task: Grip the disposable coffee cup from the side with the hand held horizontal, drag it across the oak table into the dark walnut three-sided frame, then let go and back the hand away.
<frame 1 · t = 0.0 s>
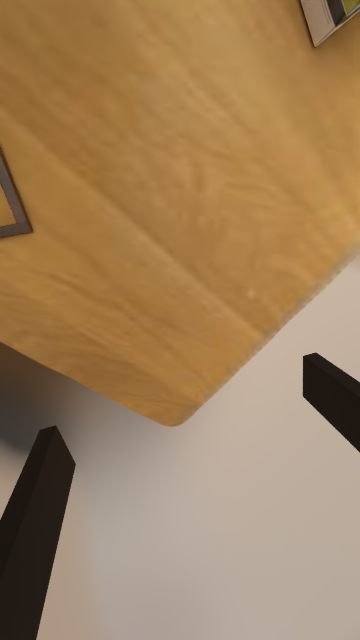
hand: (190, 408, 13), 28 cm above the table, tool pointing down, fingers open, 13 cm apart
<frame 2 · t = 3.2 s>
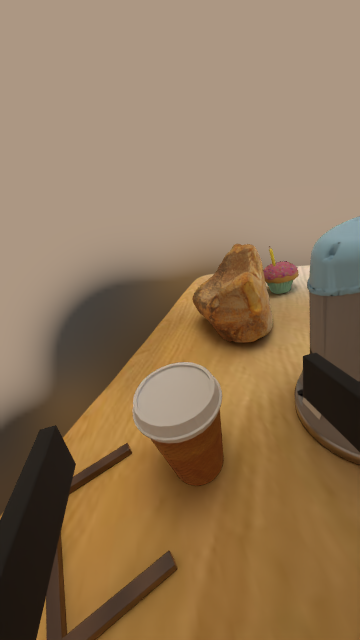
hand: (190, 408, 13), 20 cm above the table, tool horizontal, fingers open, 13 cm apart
rough brown rock: (233, 320, 57), on the table
cupcake: (280, 290, 64), on the table
disposable coffee cup: (198, 459, 31), on the table
walnut frame: (107, 524, 27), on the table
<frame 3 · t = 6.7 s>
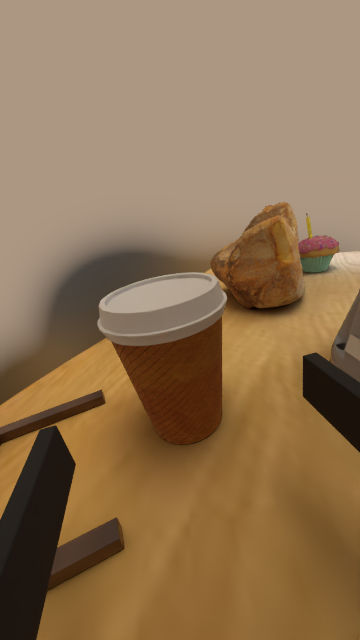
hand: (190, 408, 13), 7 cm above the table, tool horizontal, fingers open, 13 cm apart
rough brown rock: (256, 293, 49), on the table
cupcake: (315, 270, 55), on the table
disposable coffee cup: (187, 416, 23), on the table
walnut frame: (48, 475, 19), on the table
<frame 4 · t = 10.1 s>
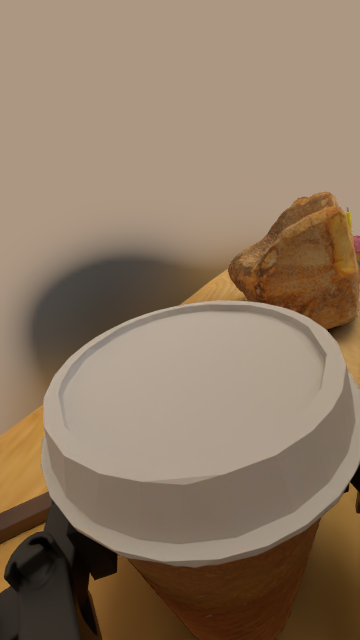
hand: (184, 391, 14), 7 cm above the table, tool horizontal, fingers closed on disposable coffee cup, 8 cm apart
rough brown rock: (285, 307, 39), on the table
cupcake: (353, 277, 45), on the table
disposable coffee cup: (227, 555, 13), on the table, touching gripper
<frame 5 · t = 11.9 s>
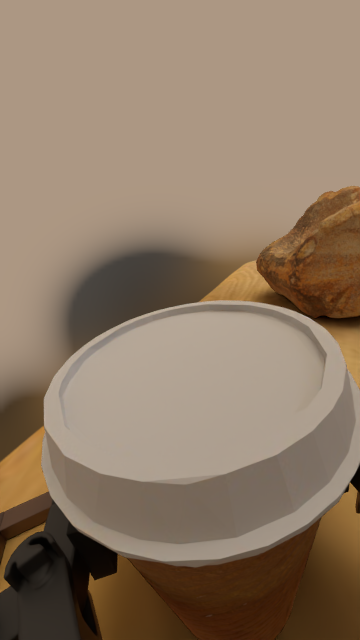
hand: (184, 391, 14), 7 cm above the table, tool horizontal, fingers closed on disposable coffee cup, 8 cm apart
rough brown rock: (312, 297, 40), on the table
disposable coffee cup: (228, 555, 13), on the table, touching gripper
walnut frame: (93, 636, 11), on the table
when the fingers open (7 cm above the table, at t = 13.8 s): disposable coffee cup stays where it is, on the table.
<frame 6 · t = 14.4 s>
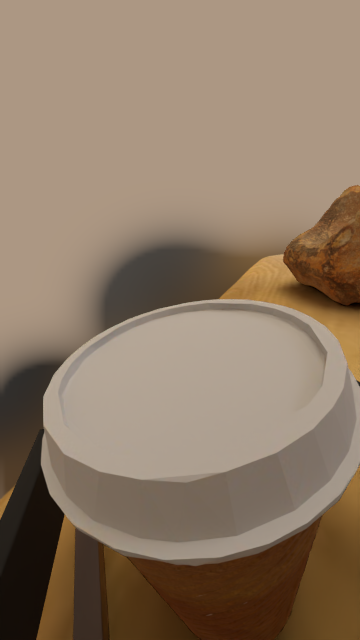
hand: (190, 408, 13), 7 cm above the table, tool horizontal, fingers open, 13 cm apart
rough brown rock: (338, 288, 42), on the table
disposable coffee cup: (228, 554, 13), on the table
walnut frame: (209, 563, 12), on the table
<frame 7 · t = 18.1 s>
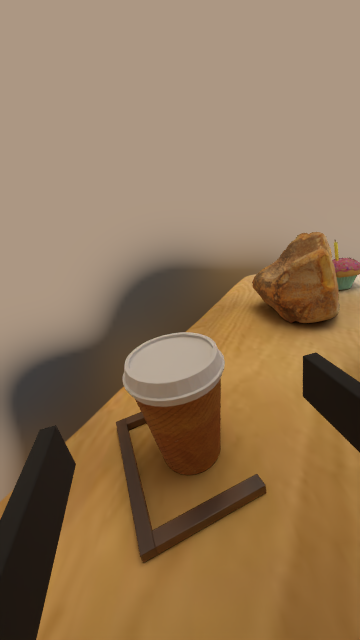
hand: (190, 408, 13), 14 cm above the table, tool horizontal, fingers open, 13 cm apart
rough brown rock: (292, 308, 56), on the table
cupcake: (339, 287, 63), on the table
disposable coffee cup: (191, 448, 27), on the table
walnut frame: (183, 451, 27), on the table
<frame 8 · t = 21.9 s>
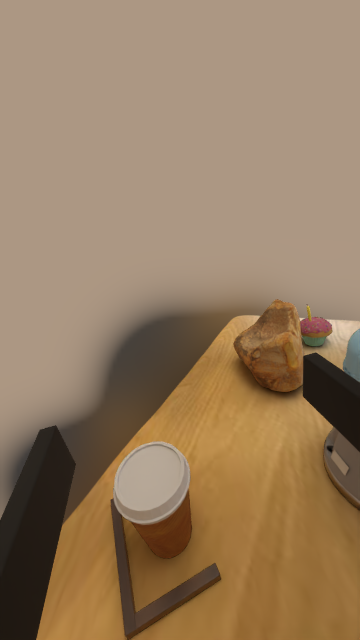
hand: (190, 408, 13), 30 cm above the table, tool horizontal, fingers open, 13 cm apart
rough brown rock: (268, 366, 64), on the table
cupcake: (313, 342, 70), on the table
disposable coffee cup: (169, 530, 34), on the table
walnut frame: (162, 533, 34), on the table
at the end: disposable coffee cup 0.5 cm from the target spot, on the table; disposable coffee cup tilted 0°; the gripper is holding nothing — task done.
